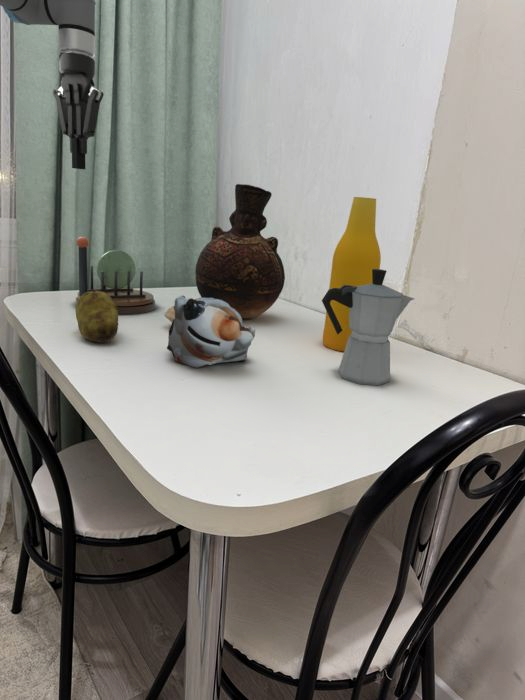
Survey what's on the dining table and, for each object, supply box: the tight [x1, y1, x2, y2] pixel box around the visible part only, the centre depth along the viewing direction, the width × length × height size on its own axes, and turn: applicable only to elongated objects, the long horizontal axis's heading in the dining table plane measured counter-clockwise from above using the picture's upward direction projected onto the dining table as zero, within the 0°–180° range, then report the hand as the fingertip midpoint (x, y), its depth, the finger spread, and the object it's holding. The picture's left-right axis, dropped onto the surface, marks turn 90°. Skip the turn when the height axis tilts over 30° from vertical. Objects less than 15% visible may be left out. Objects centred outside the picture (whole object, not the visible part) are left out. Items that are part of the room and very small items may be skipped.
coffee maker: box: [321, 268, 415, 386], centre depth 82 cm, size 15×9×18 cm, turn 92°
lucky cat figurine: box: [166, 294, 256, 369], centre depth 83 cm, size 15×12×14 cm
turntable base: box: [75, 296, 156, 316], centre depth 120 cm, size 18×18×2 cm
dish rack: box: [76, 236, 155, 306], centre depth 117 cm, size 18×17×14 cm
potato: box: [75, 291, 119, 344], centre depth 93 cm, size 8×13×8 cm, turn 9°
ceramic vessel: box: [194, 183, 286, 319], centre depth 116 cm, size 21×18×30 cm
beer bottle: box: [322, 196, 382, 353], centre depth 98 cm, size 9×9×29 cm
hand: (78, 168), depth 118 cm, fingers closed
